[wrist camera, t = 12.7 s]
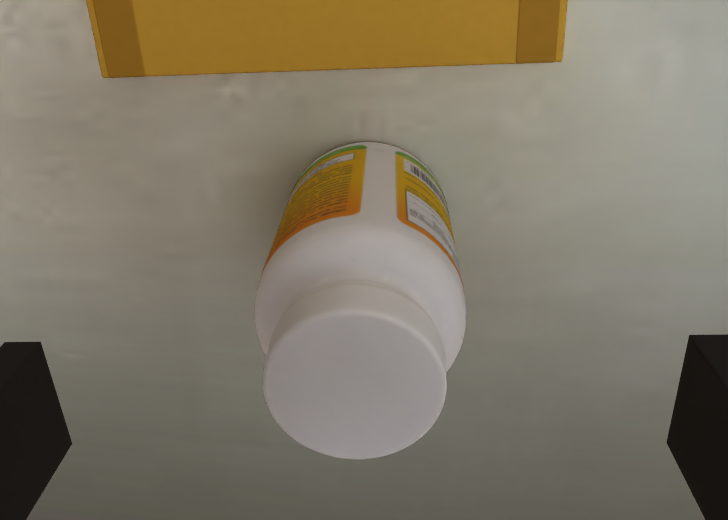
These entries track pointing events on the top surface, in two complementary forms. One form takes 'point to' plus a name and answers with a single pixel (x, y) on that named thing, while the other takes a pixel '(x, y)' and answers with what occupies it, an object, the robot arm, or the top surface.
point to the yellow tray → (320, 34)
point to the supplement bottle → (360, 304)
